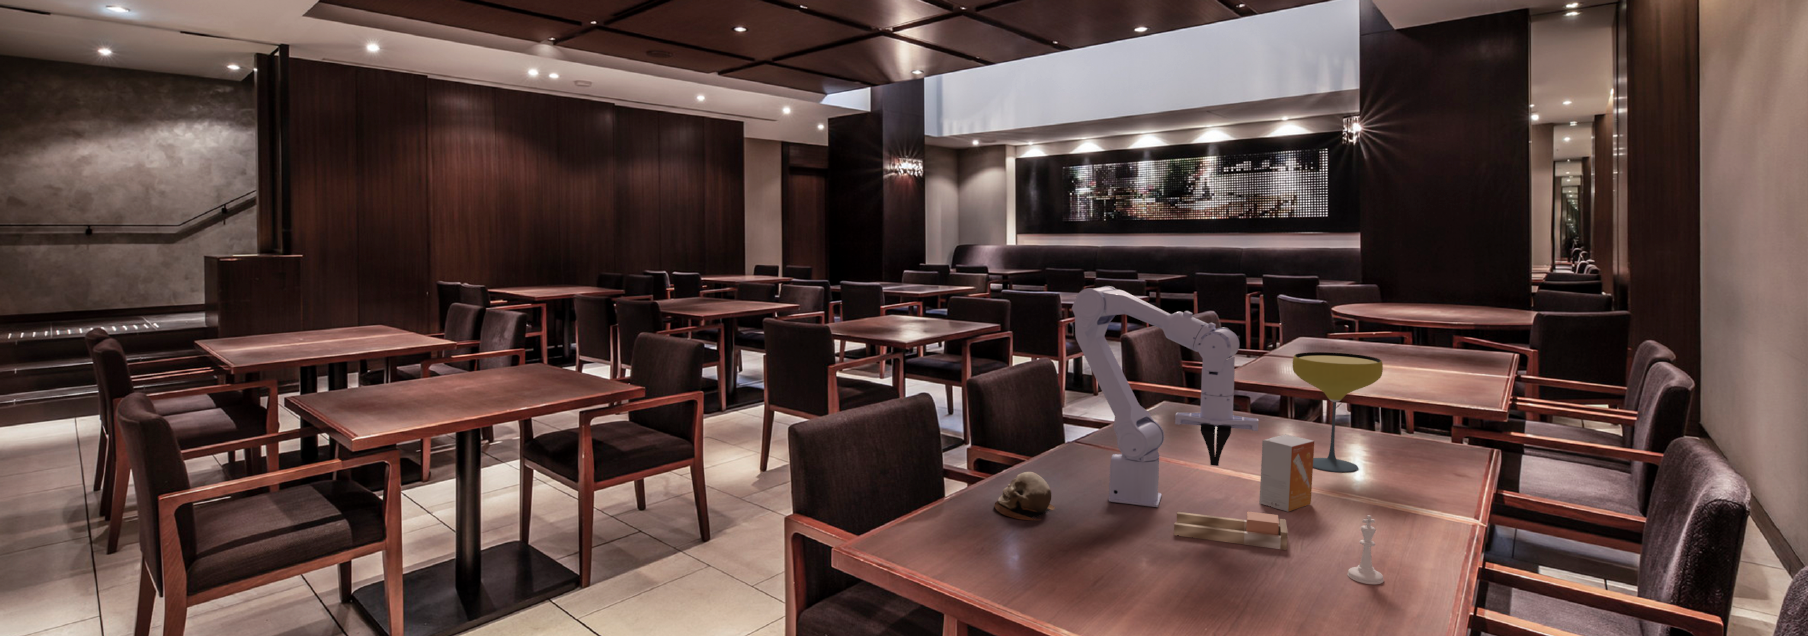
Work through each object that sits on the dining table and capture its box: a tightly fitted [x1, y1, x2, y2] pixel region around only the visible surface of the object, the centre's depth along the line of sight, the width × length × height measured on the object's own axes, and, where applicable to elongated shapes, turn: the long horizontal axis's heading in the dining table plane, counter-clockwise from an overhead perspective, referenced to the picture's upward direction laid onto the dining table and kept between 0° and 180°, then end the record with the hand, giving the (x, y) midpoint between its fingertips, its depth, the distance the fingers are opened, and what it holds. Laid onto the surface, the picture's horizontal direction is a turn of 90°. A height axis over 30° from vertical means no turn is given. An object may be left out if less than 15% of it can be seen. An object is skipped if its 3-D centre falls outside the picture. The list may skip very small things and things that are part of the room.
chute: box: [1173, 511, 1289, 551], centre depth 145 cm, size 18×7×3 cm, turn 67°
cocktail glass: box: [1292, 351, 1384, 473], centre depth 186 cm, size 18×18×25 cm
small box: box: [1259, 433, 1315, 512], centre depth 161 cm, size 8×6×13 cm
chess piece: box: [1347, 514, 1384, 585], centre depth 127 cm, size 5×5×10 cm
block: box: [1246, 510, 1279, 535], centre depth 143 cm, size 5×4×4 cm
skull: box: [993, 471, 1056, 521], centre depth 159 cm, size 12×10×10 cm
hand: (1214, 464), depth 154 cm, fingers closed
